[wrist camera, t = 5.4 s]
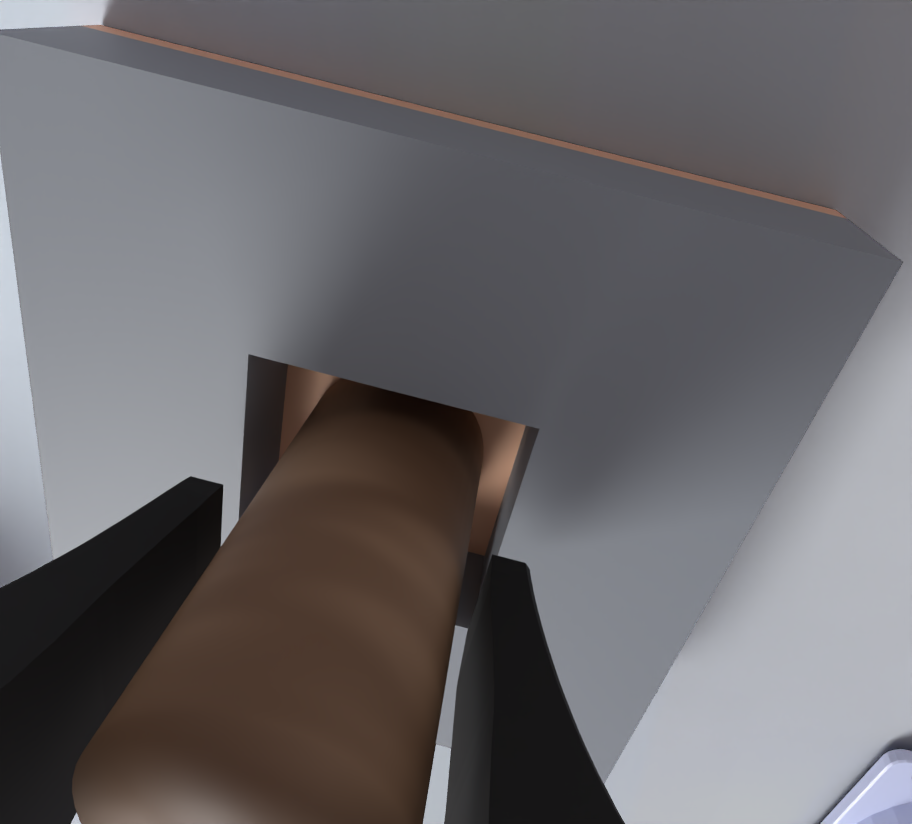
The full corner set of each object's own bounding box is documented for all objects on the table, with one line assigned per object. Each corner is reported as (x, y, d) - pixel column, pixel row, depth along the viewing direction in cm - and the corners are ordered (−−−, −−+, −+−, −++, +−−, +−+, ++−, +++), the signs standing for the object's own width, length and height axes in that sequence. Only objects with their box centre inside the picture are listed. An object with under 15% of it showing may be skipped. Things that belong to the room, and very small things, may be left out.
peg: (502, 389, 15) (448, 766, 7) (463, 535, 17) (385, 966, 9) (321, 345, 15) (61, 671, 7) (301, 496, 17) (80, 888, 9)
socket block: (836, 210, 13) (903, 262, 10) (597, 687, 20) (601, 787, 18) (100, 25, 13) (-17, 30, 10) (128, 565, 20) (64, 646, 18)
